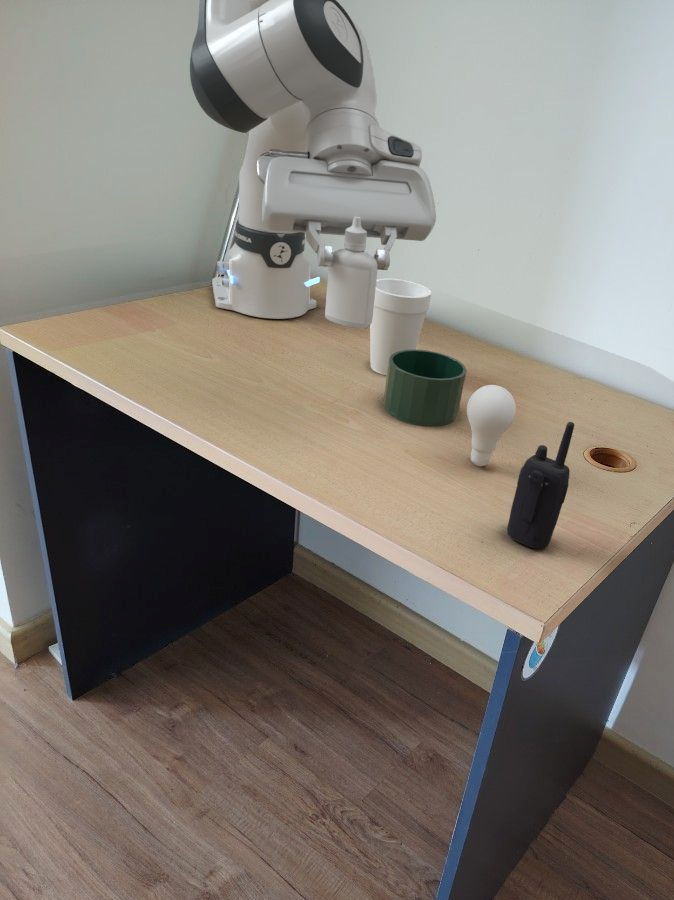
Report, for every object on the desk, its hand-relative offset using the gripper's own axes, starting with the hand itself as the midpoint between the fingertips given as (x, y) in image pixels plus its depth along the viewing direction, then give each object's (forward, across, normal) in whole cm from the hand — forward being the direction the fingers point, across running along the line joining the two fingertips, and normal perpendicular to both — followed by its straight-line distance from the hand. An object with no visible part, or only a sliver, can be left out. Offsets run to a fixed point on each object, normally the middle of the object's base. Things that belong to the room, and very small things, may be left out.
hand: (354, 266), depth 87 cm
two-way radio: (+34, +16, -2) cm, 37 cm away
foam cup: (-1, +13, +33) cm, 36 cm away
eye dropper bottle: (+5, 0, +5) cm, 7 cm away
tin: (+9, +14, +22) cm, 28 cm away
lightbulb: (+21, +17, +11) cm, 29 cm away
